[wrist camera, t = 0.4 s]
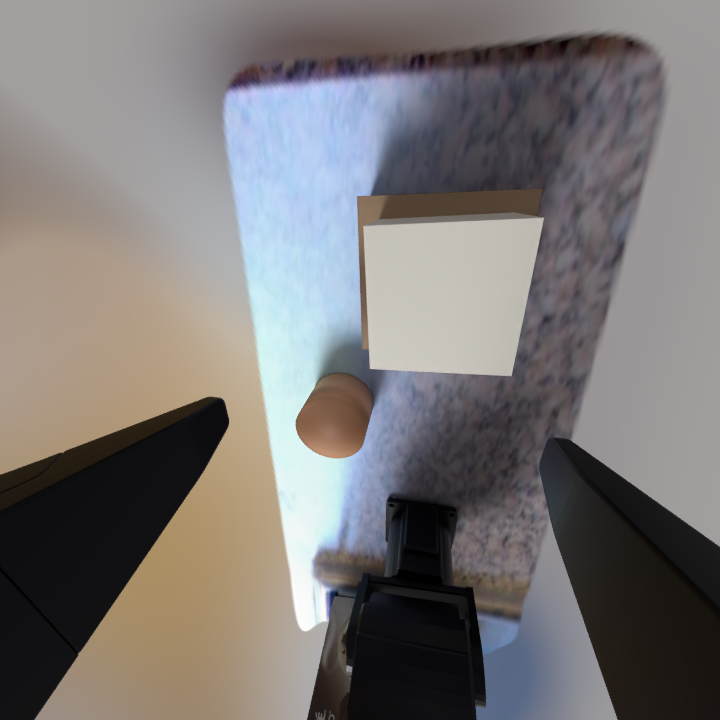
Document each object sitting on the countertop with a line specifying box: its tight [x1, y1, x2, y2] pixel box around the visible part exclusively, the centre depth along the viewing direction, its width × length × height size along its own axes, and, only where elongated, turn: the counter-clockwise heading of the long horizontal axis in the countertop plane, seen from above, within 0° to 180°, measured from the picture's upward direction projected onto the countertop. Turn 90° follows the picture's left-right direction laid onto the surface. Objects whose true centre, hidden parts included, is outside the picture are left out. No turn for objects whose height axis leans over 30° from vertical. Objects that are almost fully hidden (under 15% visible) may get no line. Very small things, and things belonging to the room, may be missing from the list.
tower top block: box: [363, 212, 544, 376], centre depth 14 cm, size 6×6×4 cm
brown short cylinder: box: [296, 373, 374, 458], centre depth 23 cm, size 5×5×4 cm
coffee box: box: [307, 596, 355, 720], centre depth 33 cm, size 9×6×16 cm
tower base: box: [357, 188, 543, 350], centre depth 17 cm, size 8×8×4 cm
